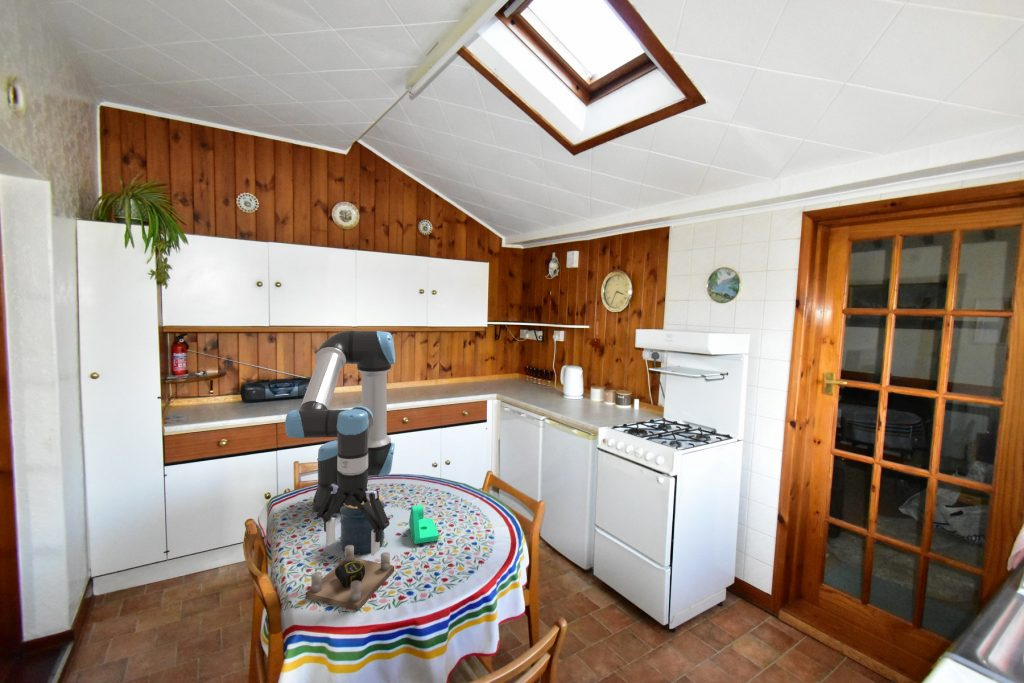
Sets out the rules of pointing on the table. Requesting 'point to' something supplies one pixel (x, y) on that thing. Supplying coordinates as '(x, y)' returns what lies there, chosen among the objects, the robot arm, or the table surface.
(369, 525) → the canister
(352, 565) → the tape measure
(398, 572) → the table surface
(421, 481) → the table surface
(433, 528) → the camera mount
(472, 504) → the table surface
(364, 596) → the pin board
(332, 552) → the table surface
